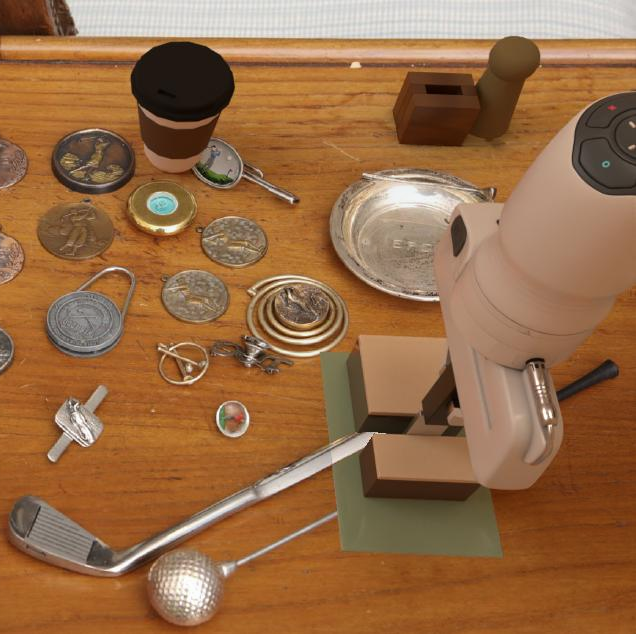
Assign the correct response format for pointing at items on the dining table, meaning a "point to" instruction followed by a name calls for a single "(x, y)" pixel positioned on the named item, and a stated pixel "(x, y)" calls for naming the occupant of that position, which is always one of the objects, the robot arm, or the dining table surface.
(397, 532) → the green board with blocks
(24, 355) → the dining table surface
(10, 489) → the dining table surface
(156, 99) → the coffee cup
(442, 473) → the tan rectangular block
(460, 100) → the knife block
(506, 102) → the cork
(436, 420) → the knife
